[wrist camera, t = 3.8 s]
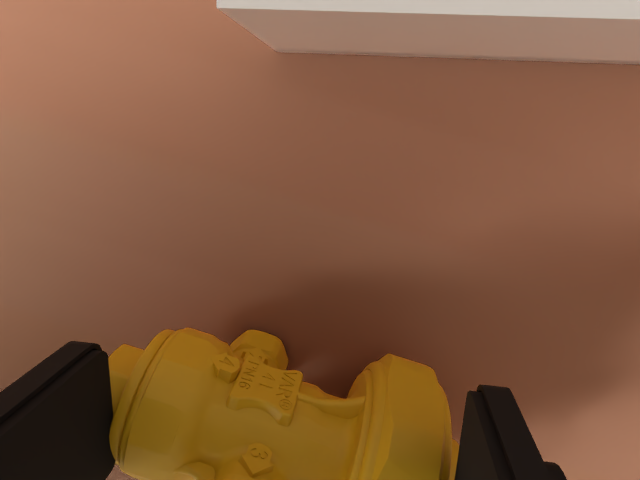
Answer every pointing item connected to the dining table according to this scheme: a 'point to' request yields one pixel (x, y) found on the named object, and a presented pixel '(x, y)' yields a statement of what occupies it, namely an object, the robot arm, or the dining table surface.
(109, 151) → the dining table surface
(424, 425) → the pressure relief valve
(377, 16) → the bin
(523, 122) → the dining table surface
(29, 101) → the dining table surface
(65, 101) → the dining table surface
